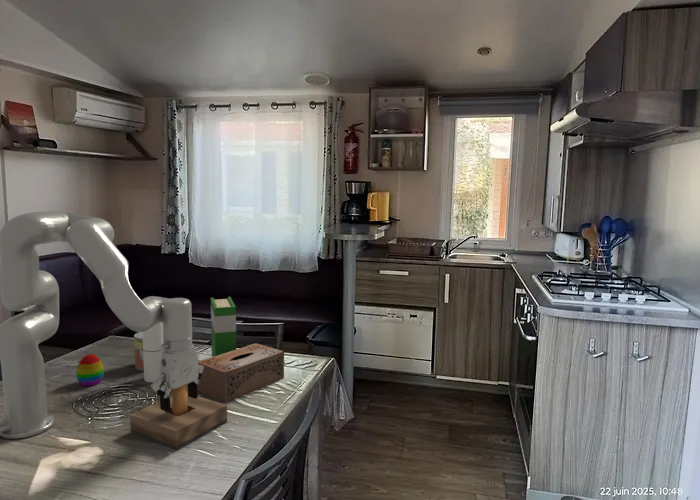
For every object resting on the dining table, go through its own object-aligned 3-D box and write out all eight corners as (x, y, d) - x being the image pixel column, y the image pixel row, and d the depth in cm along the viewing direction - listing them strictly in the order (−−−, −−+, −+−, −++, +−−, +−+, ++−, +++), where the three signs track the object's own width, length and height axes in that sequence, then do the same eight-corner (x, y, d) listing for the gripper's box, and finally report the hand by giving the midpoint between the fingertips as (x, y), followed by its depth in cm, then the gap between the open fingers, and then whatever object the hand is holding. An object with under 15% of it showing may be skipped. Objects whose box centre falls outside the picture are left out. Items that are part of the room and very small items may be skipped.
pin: (179, 428, 134) (178, 385, 132) (169, 424, 136) (168, 382, 134) (190, 422, 137) (190, 381, 136) (180, 418, 139) (180, 378, 138)
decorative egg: (91, 377, 171) (90, 349, 170) (109, 380, 168) (108, 352, 167) (71, 385, 163) (69, 356, 162) (90, 389, 161) (88, 359, 160)
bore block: (176, 450, 124) (176, 431, 124) (130, 432, 133) (130, 414, 132) (227, 421, 140) (226, 405, 139) (182, 407, 149) (182, 391, 148)
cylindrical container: (169, 375, 174) (167, 306, 171) (160, 382, 167) (157, 311, 164) (150, 374, 175) (148, 305, 172) (140, 381, 168) (137, 310, 164)
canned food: (132, 371, 177) (131, 339, 175) (137, 361, 187) (136, 330, 186) (166, 369, 180) (165, 337, 178) (168, 358, 190) (167, 328, 189)
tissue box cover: (225, 403, 152) (225, 372, 151) (197, 391, 161) (196, 362, 160) (284, 378, 173) (284, 351, 172) (256, 369, 182) (255, 343, 180)
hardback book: (211, 357, 193) (210, 297, 190) (231, 355, 195) (230, 296, 192) (215, 373, 176) (214, 308, 173) (236, 371, 179) (235, 306, 176)
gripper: (161, 355, 124) (163, 419, 126) (211, 337, 139) (212, 395, 141) (141, 350, 128) (143, 412, 130) (192, 333, 143) (193, 390, 145)
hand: (179, 403), depth 136 cm, fingers open, 9 cm apart
